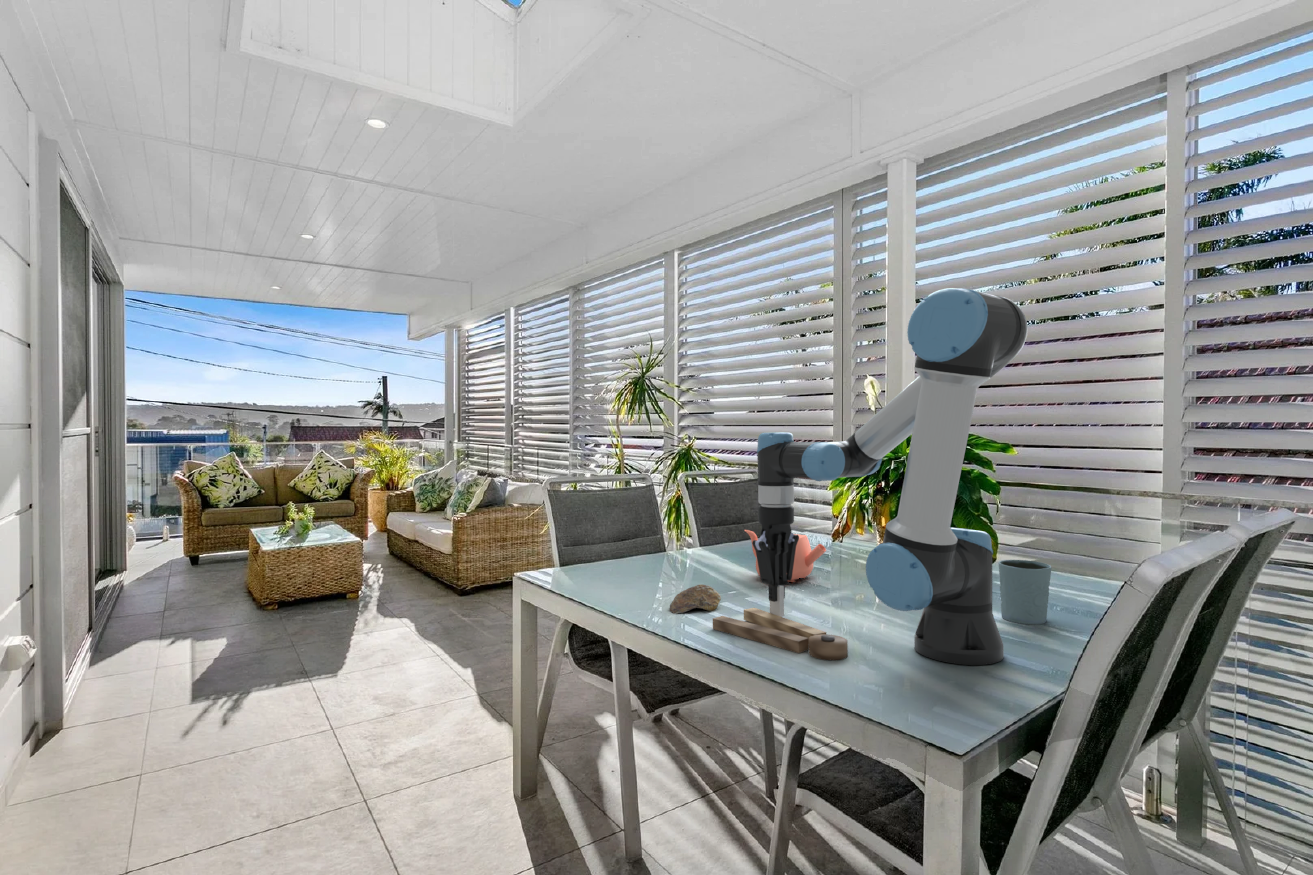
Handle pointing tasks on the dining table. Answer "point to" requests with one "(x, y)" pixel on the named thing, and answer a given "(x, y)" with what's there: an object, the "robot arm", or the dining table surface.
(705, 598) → the brown rock
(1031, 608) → the pale blue plant pot
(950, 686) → the dining table surface
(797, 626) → the tongs swing jaw
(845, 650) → the bar
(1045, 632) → the dining table surface
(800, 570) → the teapot
